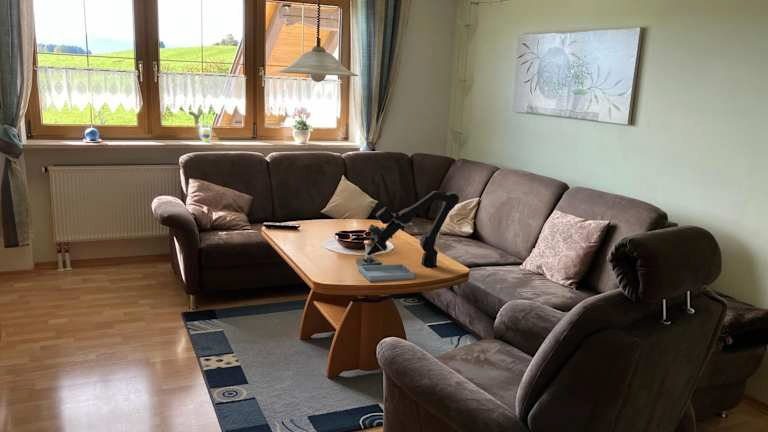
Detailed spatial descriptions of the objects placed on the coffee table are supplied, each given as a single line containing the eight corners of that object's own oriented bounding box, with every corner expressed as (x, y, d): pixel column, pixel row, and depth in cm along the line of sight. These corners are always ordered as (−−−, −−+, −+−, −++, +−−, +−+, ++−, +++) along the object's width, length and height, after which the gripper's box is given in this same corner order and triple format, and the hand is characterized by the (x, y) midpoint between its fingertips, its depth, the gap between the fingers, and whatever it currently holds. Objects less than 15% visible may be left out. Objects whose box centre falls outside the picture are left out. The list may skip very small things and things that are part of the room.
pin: (372, 263, 309) (373, 239, 306) (375, 266, 304) (376, 242, 301) (361, 264, 307) (362, 240, 305) (365, 267, 302) (365, 243, 299)
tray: (401, 268, 302) (402, 263, 301) (414, 278, 287) (414, 273, 287) (358, 271, 294) (358, 266, 294) (369, 281, 280) (369, 276, 279)
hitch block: (375, 262, 312) (375, 257, 311) (381, 267, 302) (381, 262, 302) (356, 263, 308) (356, 258, 308) (362, 268, 299) (362, 263, 299)
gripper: (375, 215, 310) (353, 236, 311) (381, 223, 292) (357, 245, 293) (390, 230, 313) (368, 251, 314) (397, 239, 295) (373, 261, 296)
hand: (366, 252), depth 304 cm, fingers open, 8 cm apart
